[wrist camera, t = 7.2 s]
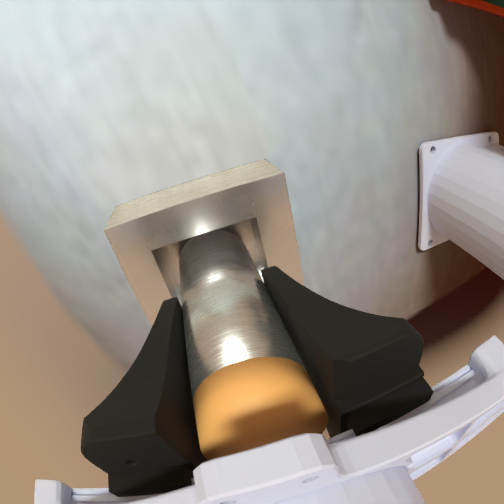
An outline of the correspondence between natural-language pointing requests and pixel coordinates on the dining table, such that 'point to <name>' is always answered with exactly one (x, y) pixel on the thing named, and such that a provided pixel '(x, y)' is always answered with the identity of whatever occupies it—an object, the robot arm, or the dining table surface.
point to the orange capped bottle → (240, 352)
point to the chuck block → (203, 228)
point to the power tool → (484, 5)
